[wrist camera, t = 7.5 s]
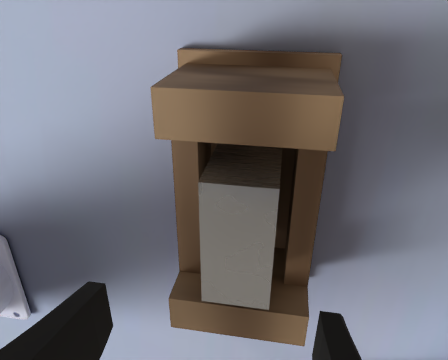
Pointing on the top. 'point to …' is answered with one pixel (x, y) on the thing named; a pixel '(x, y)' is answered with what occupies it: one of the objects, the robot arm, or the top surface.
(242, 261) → the grey concrete block
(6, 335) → the top surface
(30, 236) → the top surface
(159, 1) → the top surface
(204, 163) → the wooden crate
